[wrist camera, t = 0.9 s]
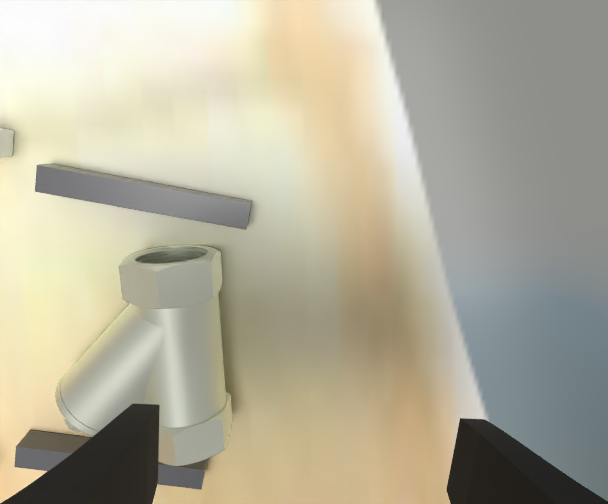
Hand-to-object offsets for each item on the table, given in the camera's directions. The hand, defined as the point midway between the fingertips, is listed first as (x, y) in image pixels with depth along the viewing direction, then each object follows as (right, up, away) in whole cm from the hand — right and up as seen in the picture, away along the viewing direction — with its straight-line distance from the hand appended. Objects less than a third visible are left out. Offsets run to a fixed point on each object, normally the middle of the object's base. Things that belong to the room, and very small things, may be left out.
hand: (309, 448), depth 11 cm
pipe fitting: (-7, +1, +10) cm, 12 cm away
